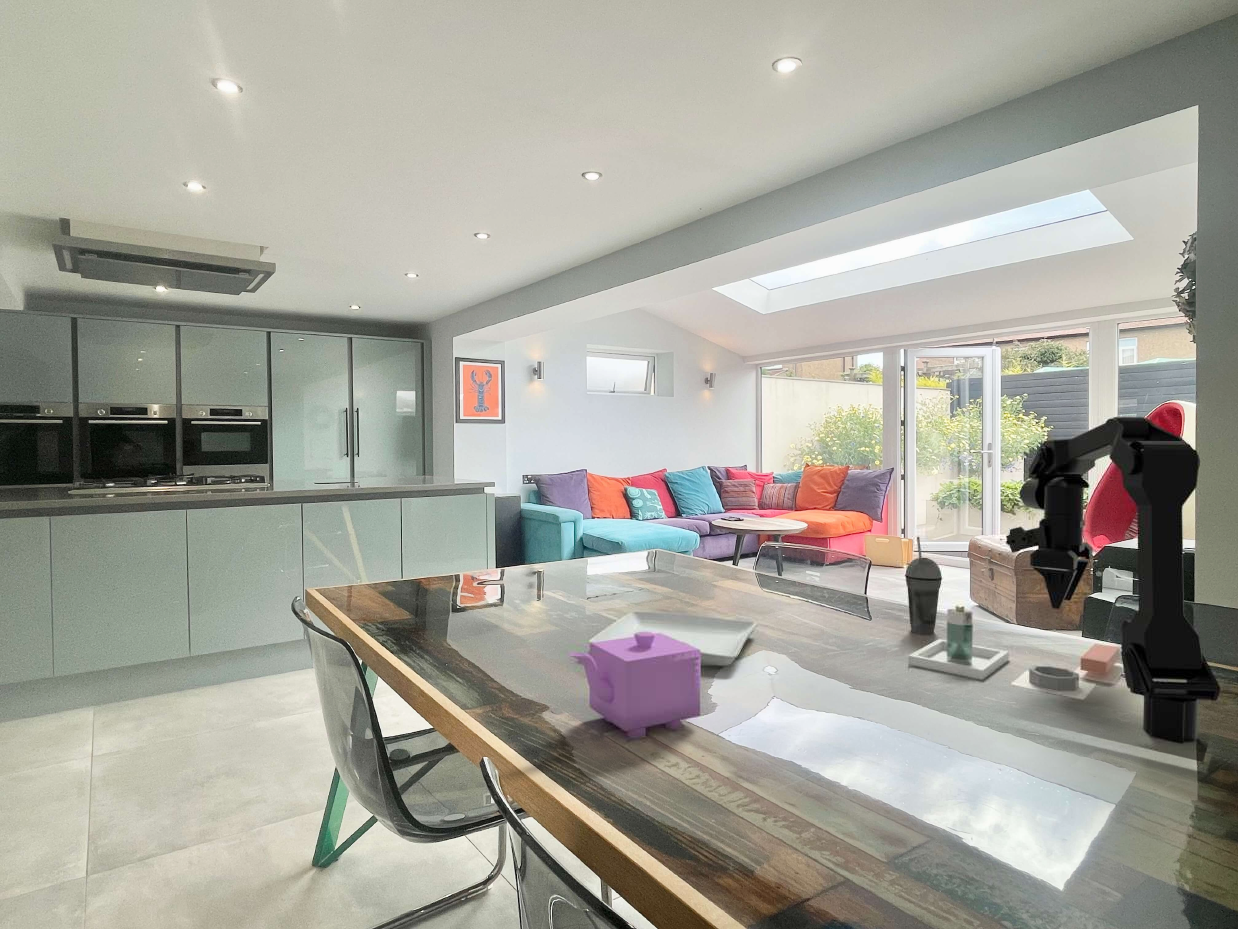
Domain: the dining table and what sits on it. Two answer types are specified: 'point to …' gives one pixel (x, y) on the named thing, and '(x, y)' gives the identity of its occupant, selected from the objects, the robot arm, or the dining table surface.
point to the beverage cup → (923, 593)
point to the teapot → (643, 681)
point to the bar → (1099, 658)
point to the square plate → (686, 633)
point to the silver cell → (959, 635)
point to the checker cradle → (1065, 680)
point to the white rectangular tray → (937, 660)
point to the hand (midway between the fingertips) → (1061, 604)
